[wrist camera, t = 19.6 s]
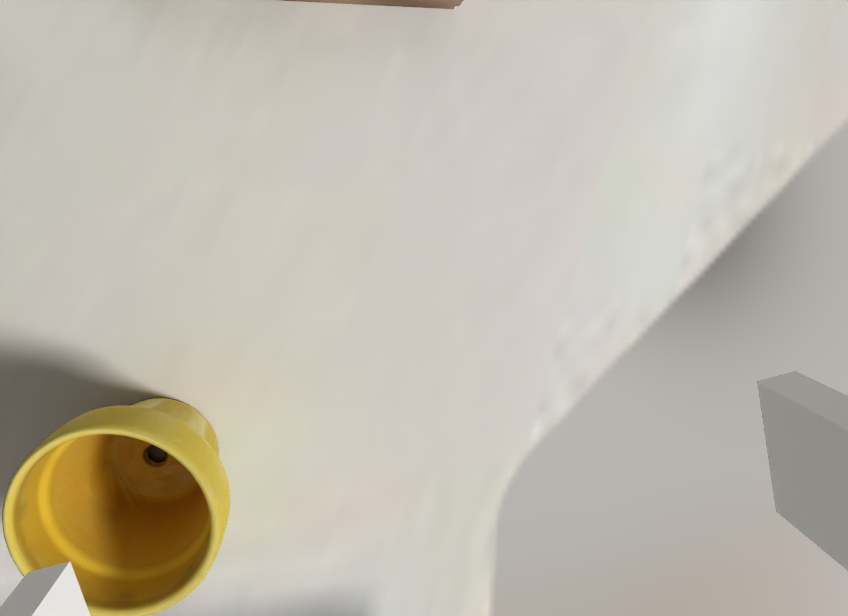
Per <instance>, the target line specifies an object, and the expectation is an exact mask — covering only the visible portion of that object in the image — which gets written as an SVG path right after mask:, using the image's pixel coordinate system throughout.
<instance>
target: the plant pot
mask: <svg viewBox="0 0 848 616" xmlns="http://www.w3.org/2000/svg"><path fill="white" fill-rule="evenodd" d="M152 445H155V446H157V447H158V448H160V449H162V450H164V451H165V452H167V459H166V460H165V461H164V462H161V463H157V462H154V461H152V460H151V459H150V458H149V457H148V455H147V449H148V448H149V447H150V446H152ZM229 508H230V490H229V484H228V479H227V476H226V473H225V470H224V467H223V465H222V463H221V461H220V459H219V451H218V442H217V438H216V435H215V433H214V430H213V429H212V427H211V425H210V423H209V422H208V421H207V419H206V418H205V417H204V416H203V415H202V414H201V413H200V412H199V411H197V410H196V409H194V408H193V407H191V406H190V405H188V404H185V403H183V402H180V401H177V400H173V399H165V398H154V399H148V400H144V401H141V402H138V403H136V404H133V405H131V406H109V407H103V408H99V409H95V410H92V411H89V412H86V413H84V414H81V415H80V416H78V417H76V418H74V419H72V420H70V421H69V422H67V423H66V424H64V425H63V426H61V427H60V428H59V429H57V430H56V431H55V432H53V433H52V434H51V435H50V436H48V437H47V438H46V439H45V440H44V441H43V442H41V443H40V444H39V445H38V446H37V447H36V448H35V449H34V450H33V451H32V452H31V453H30V454H29V455H28V456H27V457H26V458H25V459H24V460H23V461H22V463H21V464H20V466H19V467H18V469H17V470H16V472H15V473H14V475H13V477H12V479H11V481H10V483H9V486H8V489H7V492H6V495H5V499H4V504H3V513H2V523H3V532H4V537H5V541H6V544H7V547H8V550H9V553H10V555H11V557H12V559H13V561H14V563H15V565H16V566H17V568H18V569H19V571H20V572H21V574H22V575H23V576H24V577H25V575H26V574H27V573H28V572H30V571H34V570H38V569H42V568H46V567H50V566H53V565H57V564H61V563H65V562H69V561H70V562H71V565H72V568H73V570H74V573H75V576H76V578H77V581H78V584H79V586H80V589H81V592H82V594H83V597H84V600H85V602H86V605H87V608H88V610H89V613H90V616H147V615H151V614H154V613H157V612H159V611H162V610H164V609H166V608H168V607H170V606H172V605H174V604H176V603H177V602H179V601H180V600H182V599H183V598H185V597H186V596H187V595H188V594H189V593H191V592H192V591H193V590H194V589H195V588H196V587H197V586H198V585H199V583H200V582H201V581H202V580H203V578H204V577H205V576H206V574H207V573H208V571H209V569H210V568H211V566H212V564H213V562H214V560H215V557H216V555H217V553H218V550H219V547H220V544H221V542H222V539H223V535H224V532H225V528H226V525H227V520H228V516H229Z"/></svg>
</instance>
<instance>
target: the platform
mask: <svg viewBox="0 0 848 616" xmlns="http://www.w3.org/2000/svg"><path fill="white" fill-rule="evenodd" d="M284 1H304V2H324V3H344V4H364V5H383V6H403V7H423V8H443V9H454V7H455V6H459V5H460V4H461V3H462V1H463V0H284Z"/></svg>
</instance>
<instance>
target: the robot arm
mask: <svg viewBox="0 0 848 616" xmlns="http://www.w3.org/2000/svg"><path fill="white" fill-rule="evenodd" d="M757 383H758V390H759V397H760V404H761V410H762V418H763V424H764V431H765V437H766V445H767V452H768V459H769V466H770V473H771V480H772V486H773V493H774V500H775V506H776V512H778V513H779V514H780V515H781V516H782V517H784V518H785V519H786V520H787V521H788V522H790V523H791V524H792V525H794V527H796V528H797V529H798V530H799V531H800V532H802V533H803V534H804V535H805V536H807V537H808V538H809V539H810V540H811V541H813V542H814V543H815V544H817V546H819V547H820V548H821V549H822V550H823V551H825V552H826V553H827V554H828V555H830V556H831V557H832V558H833V559H834V560H836V561H837V562H838V563H839V564H841V565H842V566H843V567H844V568H845V569H847V570H848V396H847V395H844V394H842V393H840V392H838V391H836V390H834V389H832V388H830V387H828V386H825V385H823V384H821V383H819V382H817V381H815V380H813V379H811V378H808V377H807V376H804V375H802V374H800V373H798V372H796V371H795V372H791V373H787V374H783V375H779V376H775V377H772V378H768V379H764V380H760V381H757ZM0 616H90V613H89V610H88V608H87V605H86V602H85V600H84V597H83V594H82V592H81V589H80V586H79V584H78V581H77V578H76V576H75V573H74V570H73V568H72V565H71V562H70V561H69V562H65V563H61V564H57V565H53V566H50V567H46V568H42V569H38V570H34V571H30V572H28V573H27V574H26V575H25V577H24V578H23V579H22V581H21V582H20V583H19V584H18V586H17V587H16V588H15V589H14V591H13V592H12V593H11V595H10V596H9V597H8V598H7V600H6V601H5V602H4V604H3V605H2V606H1V607H0Z"/></svg>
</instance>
